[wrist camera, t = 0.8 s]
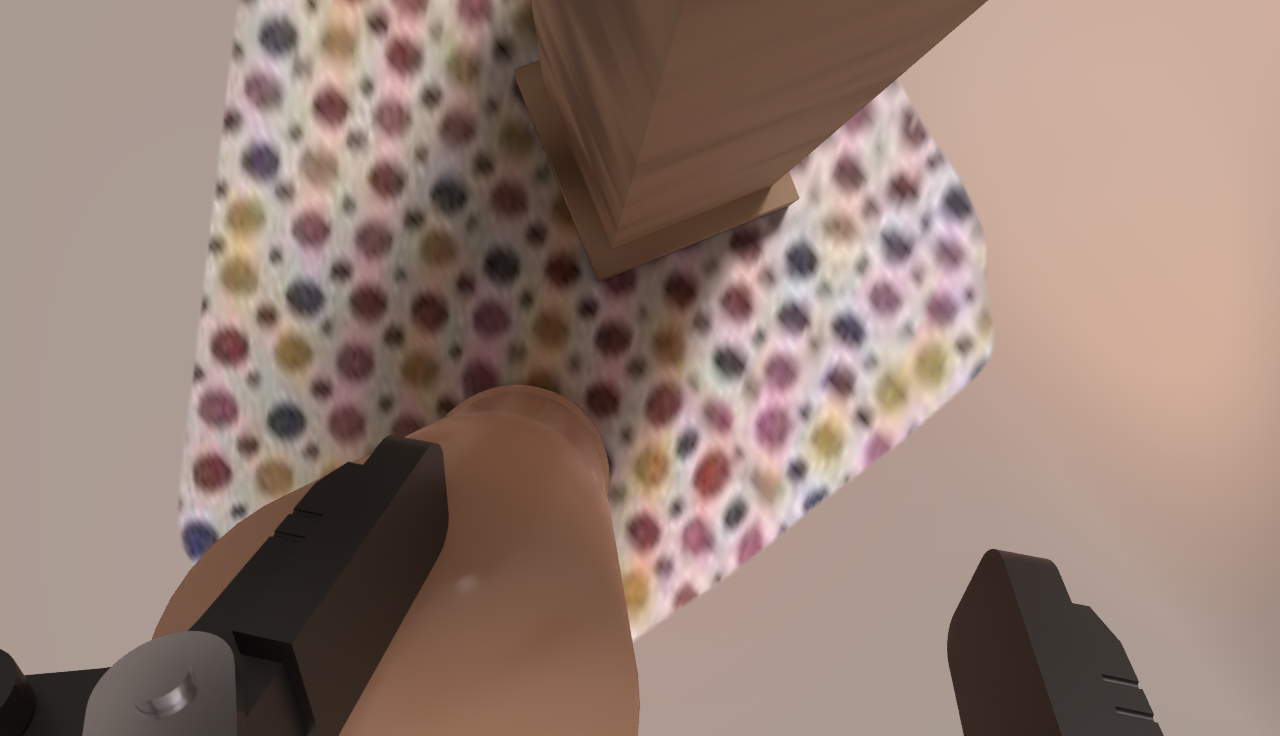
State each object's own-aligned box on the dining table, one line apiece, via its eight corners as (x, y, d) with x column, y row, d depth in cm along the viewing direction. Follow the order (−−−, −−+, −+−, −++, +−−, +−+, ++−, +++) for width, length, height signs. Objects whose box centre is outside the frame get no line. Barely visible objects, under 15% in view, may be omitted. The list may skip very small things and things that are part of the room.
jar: (396, 426, 33) (25, 581, 11) (567, 356, 33) (539, 370, 12) (468, 593, 33) (251, 1060, 11) (636, 521, 34) (733, 836, 12)
